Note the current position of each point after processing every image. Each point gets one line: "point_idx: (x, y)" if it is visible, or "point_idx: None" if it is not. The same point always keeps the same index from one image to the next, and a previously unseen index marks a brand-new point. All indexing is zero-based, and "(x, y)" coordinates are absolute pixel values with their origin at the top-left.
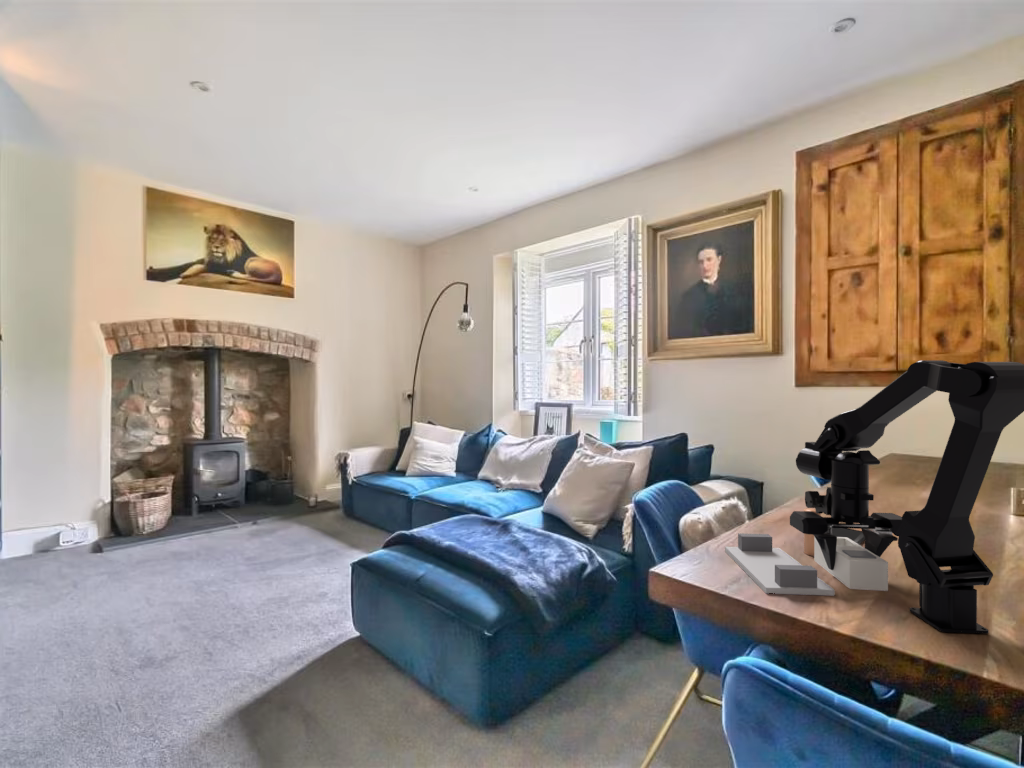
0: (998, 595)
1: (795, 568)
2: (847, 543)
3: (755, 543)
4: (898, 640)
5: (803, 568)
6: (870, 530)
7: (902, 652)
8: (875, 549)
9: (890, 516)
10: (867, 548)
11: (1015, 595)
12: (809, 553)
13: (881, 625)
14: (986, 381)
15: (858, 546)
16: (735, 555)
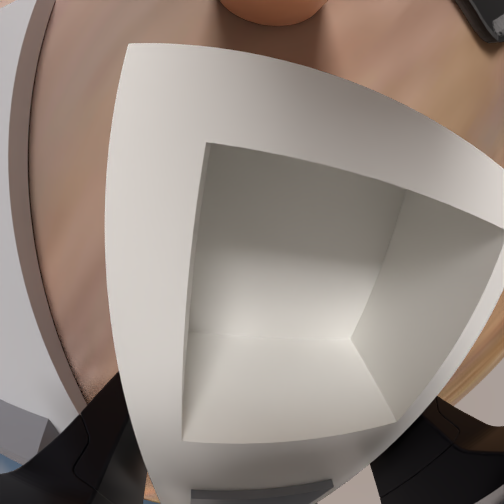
0: (478, 377)
1: (3, 452)
2: (462, 267)
3: None
4: (154, 495)
5: (19, 461)
6: (482, 501)
7: (145, 499)
8: (380, 480)
9: None
10: (405, 437)
11: (493, 368)
12: (225, 1)
13: (151, 485)
14: None
15: (399, 421)
16: None
